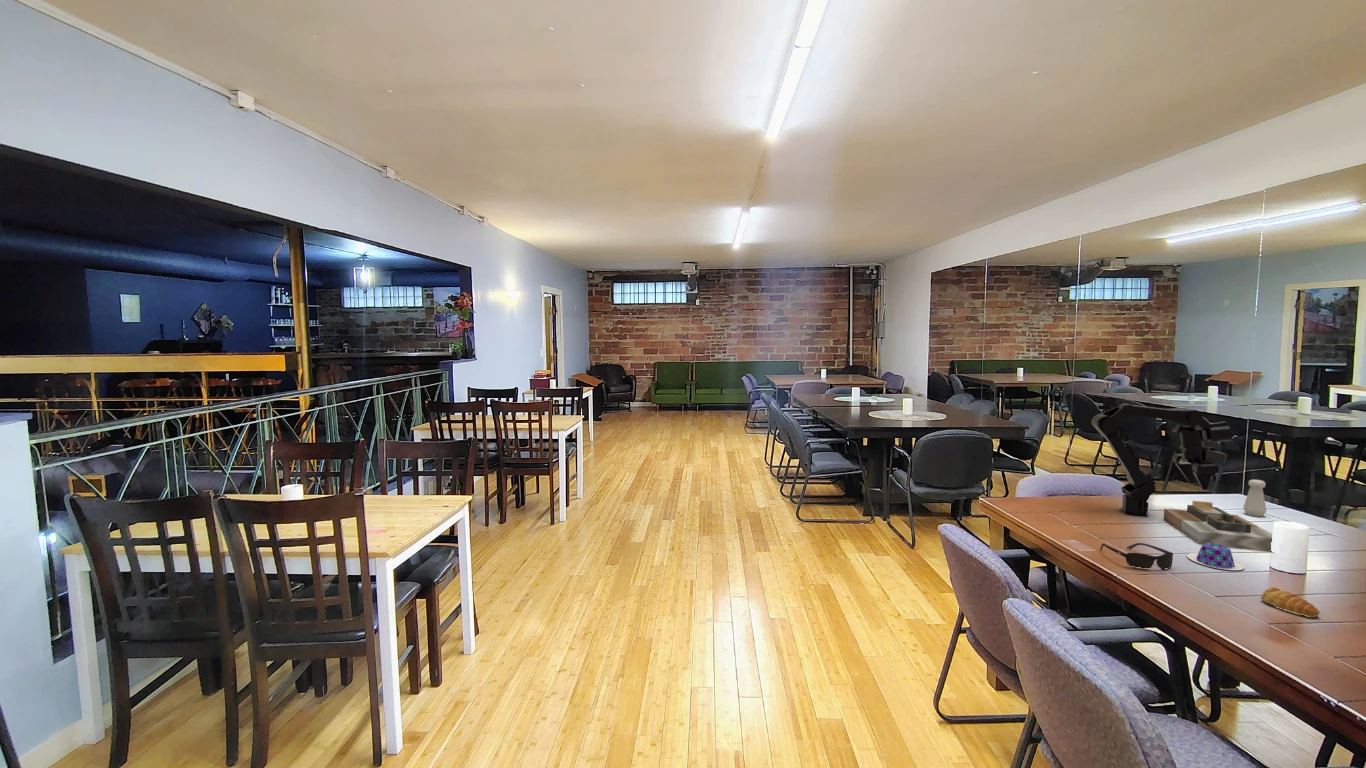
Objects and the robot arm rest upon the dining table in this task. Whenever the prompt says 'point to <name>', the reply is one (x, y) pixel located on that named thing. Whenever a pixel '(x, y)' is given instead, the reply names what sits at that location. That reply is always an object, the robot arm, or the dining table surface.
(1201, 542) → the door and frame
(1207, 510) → the bolt
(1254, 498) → the salt shaker
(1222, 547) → the purple patterned hat
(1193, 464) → the robot arm
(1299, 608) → the pastry
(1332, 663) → the dining table surface
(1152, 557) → the sunglasses
